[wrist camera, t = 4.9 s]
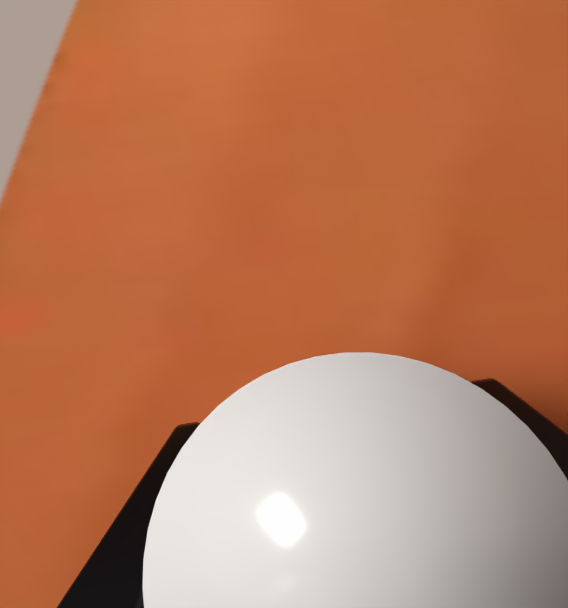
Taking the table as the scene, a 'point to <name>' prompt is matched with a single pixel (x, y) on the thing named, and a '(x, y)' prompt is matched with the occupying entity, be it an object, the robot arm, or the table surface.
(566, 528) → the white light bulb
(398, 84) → the table surface
